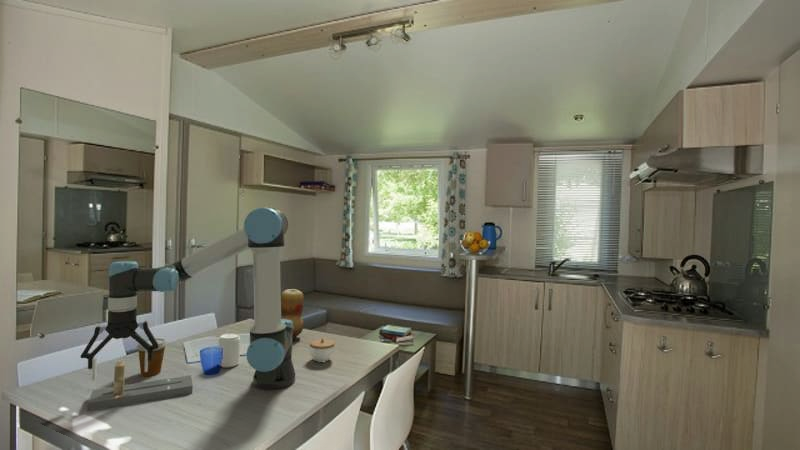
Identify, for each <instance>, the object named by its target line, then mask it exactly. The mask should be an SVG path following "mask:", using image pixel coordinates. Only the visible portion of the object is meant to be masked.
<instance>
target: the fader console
mask: <svg viewBox="0 0 800 450" xmlns="http://www.w3.org/2000/svg"><path fill="white" fill-rule="evenodd" d="M188 394H193V380H192V375H191V374H189V375H182V376H175V377H170V378H162V379H157V380H150V381H142V382H136V383H129V384H124V391H123V393H122V394H116V395H114V386H110V387H103V388H96V389H92V392H91V394H90V397H89V399H88V401H87V407H86V408H87V409H86V411H87V412H91V411H97V410H102V409H107V408H114V407H120V406H125V405H131V404H138V403H142V402H148V401H154V400H160V399H166V398H171V397H172V398H173V397H177V396H183V395H188Z"/></svg>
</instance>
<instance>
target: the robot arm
mask: <svg viewBox="0 0 800 450" xmlns="http://www.w3.org/2000/svg"><path fill="white" fill-rule="evenodd" d="M288 229H289V220H288V218H287V216H286V215H285V213H284V212H283V211H281V210H279V209H277V208H272V207H266V206H264V207H262V206H261V207H258V208H255V209H253V210H252V211H250V212H249V213H248V214H247V215H246V217H245V219H244V222H243V228H241V229H239V230H237V231H235V232H233V233H231V234H229V235H227V236H226V237H223V238H221V239H219V240H217V241H215V242H213V243H211V244H209V245H207V246H205V247H203V248H202V249H199V250H197V251H196V252H193V253H191V254H189V255H187V256H185V257H183V258H182V259H179V260H177V261H174V262H173V263H171V264H168V265H164V266H160V267H153V268H152V267H148V268H147V267H139V264H138V262H137V261H134V260H129V261H128V260H125V261H122V260H121V261H115V262H112V263H111V264H110V265H109V272H108V273H109V274H108V298H107V299H108V303H107V304H108V306H107V308H108V312H107V325H105V326H104V325H103V326H101V325H96V326H95V328H94V332H93V335H92V337H91V339H90V340H89V342H88V343H87V344H86V347H85V348H84V350H83V351H82V353H81V355H80V358H81V359H87V369H88V370H91V381H95V380H96V378H97V368H98V367H97V365H98V356H96V355H97V354H98V353H99V352H100V351H101V350H102V349H103V348H104V347H105V346H106V345H107V344H108V343H109V342H110V341H111V340H112V339H115V340H120V339H128V338H132V339H133V340H135V342H137V343H138V344H140V345H142V346H143V347H144V348H145V349H146V350H145V372H147V370H148V361H151V360H152V351H153V350H154V349H157V348H158V346H159V344H158V343H157V341H156V339H155V336H154V334H153V333H152V331H151V329H150V328H149V322H148V321H147V320H144V321H143V322H138V321H137V315H138V314H137V312H138V310H137V309H136V308H137V305H138V292H161V293H164V292H172V291H175V290H176V288H177V287H178V285H182V284H183V283H185V282H187V281H188V280H189V279H191V278H193V277H195V276H197V275H199V274H202V273H203V272H206V271H207V270H209V269H211V268H213V267H215V266H217V265H219V264H221V263H222V262H223V263H224V262H225V261H227V260H228V259H231V258H232V257H235V256H236V255H237V256H238V254H241V253H242V252H245V251H246V250H250V251H251V253H252V261H253V262H252V264H253V267H252V268H253V274H252V275H253V319H254V323H253V325H252V326H251V327H250V328H249V345H248V346H247V350H246V360H247V363H248V364H249V366H250V367H251V368H253V369H254V370H255V371H254V373H253V375H252V376H253V377H252V384H253V386H254V387H255V388H258V389H261V390H279V389H283V388H287V387H289V386H292V385H293V384H294V383H295V382H296V375H297V374H296V371H295V367H294V363H293V360H292V358H293V357H292V355H293V339H292V337H293V322H292V321H291V320H287V319H281V294H282V291H281V251H282V250H283V249H284V248H285V235H286V233H287V231H288ZM138 328H140V329H141V330H143V331H144V334H145V335H146V337H147V338H148V339H149V340H150V342H151V343H152V346H151V345H150V344H149V343H147V342H146V341H145V340H146V339H144V338H143V337H142V336H141V335H140V334H139V333H138V332H137V331H136V330H137V329H138ZM104 331H106V333H108V335H107V336H106V337H105V338H104V339H103V340H102V341H101V342H100V343H99V344H98V345H97V346H96V347H95V348H94V349H93V350H92V351H91V352H90V350H91V348H92V346H93V345H94V344H95V343H96V340H97V339H98V337H99V335H100V334H102V333H103V332H104Z"/></svg>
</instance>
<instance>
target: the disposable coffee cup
mask: <svg viewBox="0 0 800 450" xmlns="http://www.w3.org/2000/svg"><path fill="white" fill-rule="evenodd" d="M154 338H155V337H154ZM155 339H156V341H157V343H158V344H159V346H158V348H157V349H154V350H153V351H152V360H151V361H148V370H147V372H145V350H146V349H145V348H144V347H143V346H142V345H140V344H139V343H138V345H136V348H137V351H138V359H139V368H140V369H139V370H140V375H141V376H142V377H152V376H153V377H154V376H157V375H159V374H160V373H161V371H162V366H163V360H164V354H165V350H166V347H167V345H168V344H167V342H166V339H165V338H159V337H158V338H155ZM144 340H145V341H146V342H147V343H149V344H150V345H151V346H152V343H151V342H150V340H149V339H144Z"/></svg>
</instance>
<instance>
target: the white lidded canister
mask: <svg viewBox="0 0 800 450" xmlns="http://www.w3.org/2000/svg"><path fill="white" fill-rule="evenodd" d="M219 347H221V348H223V361H222V367H221V368H232V367H235V366H237V365H239V364H240V356H241V354H240V353H241V337H240V334H239V333H235V332H232V333H224V334H222V335H220V337H219V339H218V348H219Z"/></svg>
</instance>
